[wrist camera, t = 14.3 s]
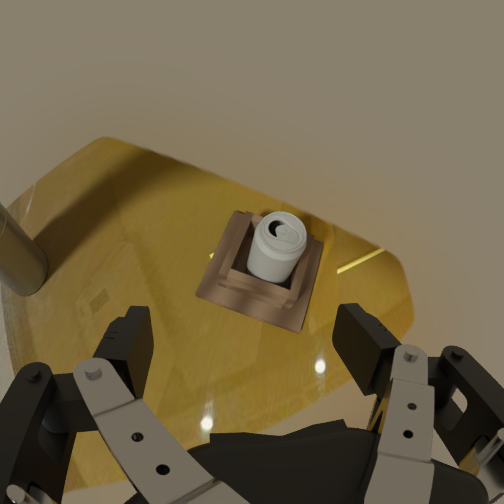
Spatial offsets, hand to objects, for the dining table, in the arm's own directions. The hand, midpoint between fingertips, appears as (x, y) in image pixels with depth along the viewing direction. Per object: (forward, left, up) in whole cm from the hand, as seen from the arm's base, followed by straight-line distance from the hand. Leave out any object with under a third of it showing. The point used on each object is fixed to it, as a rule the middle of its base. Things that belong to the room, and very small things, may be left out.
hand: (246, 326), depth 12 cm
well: (0, +17, -29) cm, 33 cm away
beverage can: (+1, +16, -28) cm, 32 cm away
